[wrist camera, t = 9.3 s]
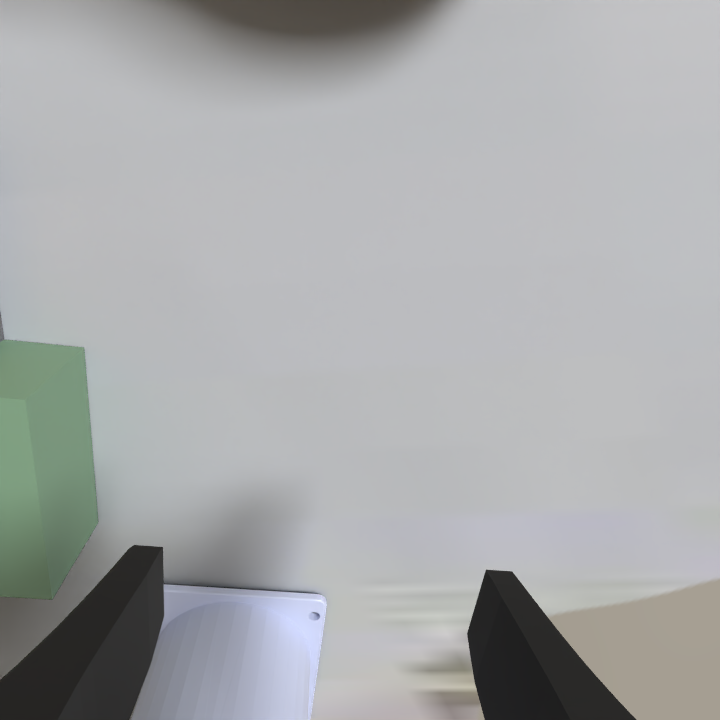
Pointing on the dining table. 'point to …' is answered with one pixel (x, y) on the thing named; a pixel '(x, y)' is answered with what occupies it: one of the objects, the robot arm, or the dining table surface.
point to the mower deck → (43, 466)
